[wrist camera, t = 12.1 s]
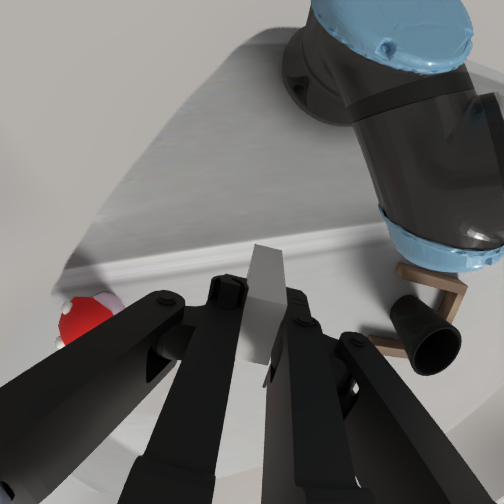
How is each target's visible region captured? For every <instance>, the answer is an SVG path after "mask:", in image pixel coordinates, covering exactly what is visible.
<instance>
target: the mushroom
mask: <svg viewBox="0 0 504 504" xmlns="http://www.w3.org/2000/svg"><path fill="white" fill-rule="evenodd" d="M61 309H62V314H61V318H60V321H59V325H58V326H59V331H60V335H61V336H58V337H57V338H56V341H55V343H56V346H57V348H58V349H61V348H63V347H64V346H66V345H67V344H69V343H70V342H72V341H74V340H75V339H77V338H78V337H80V336H82V335H83V334H85V333H86V332H88V331H90V330H91V329H93V328H94V327H96V326H98V325H99V324H101V323H102V322H104V321H106V320H107V319H109V318H110V317H112V316H114V315H115V314H117V313H119V312H120V311H122V310H123V309H125V306H124V304H123V303H122V301H121V300H120V299H119V298H118V297H116V296H115V295H113V294H111V293H108V292H101V293H99V294H97V295H95V296H93V297H74V298H73V299H72V300H71V301H70V302H65V303H64V304H63V305H62V308H61Z"/></svg>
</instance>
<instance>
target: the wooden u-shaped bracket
mask: <svg viewBox="0 0 504 504" xmlns="http://www.w3.org/2000/svg"><path fill="white" fill-rule="evenodd" d="M395 272H396V273H397V274H398V275H399V276H400V277H401V278H402V279H404V280H408V281H412V282H415V283H419V284H423V285H427V286H431V287H435V288H439V289H443V290H447V293H446V295H445V297H444V300H443V302H442V304H441V306H440V309H439V311H438V314H439V315H440V316H441V317H443V318H444V319H445V320H446V321H448V322H449V323H450V324H451V323H452V321H453V319H454V317H455V315H456V313H457V311H458V309H459V306H460V304H461V302H462V299H463V297H464V295H465V292H466V290H467V288H468V286H467V285H466V284H464V283H463V282H462V281H460V280H459V279H456V278H453V277H449V276H446V275H442V274H439V273H435V272H432V271H428V270H425V269H421V268H418V267H414V266H410V265H407V264H403V263H400V262H398V265H397V268H396V271H395ZM368 339H369V340H370V341H371V342H372V343H373V344H374V345H375V346H376V348H377V349H378V350H379V351H380V353H381V354H382V355H385V356H392V357H400V358H408V356H407V354H406V352H405V350H404V347H403V345H402V343H401V340H395V339H389V338H383V337H377V336H371V335H369V336H368Z"/></svg>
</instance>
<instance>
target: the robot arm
mask: <svg viewBox="0 0 504 504" xmlns="http://www.w3.org/2000/svg"><path fill="white" fill-rule="evenodd" d="M473 35H474V34H473V27H472V23H471V20H470V17H469V15H468V12H467V11H466V9H465V7H464V5H463V3H462V2H461V1H460V0H311V6H310V11H309V15H308V19H307V23H306V26H304V27H303V28H301V29H300V30H298V31H297V32H296V33H295V34H294V35H293V37H292V38H291V39H290V41H289V42H288V44H287V46H286V49H285V52H284V56H283V63H282V74H283V79H284V83H285V86H286V88H287V90H288V92H289V94H290V96H291V97H292V99H293V100H294V101H295V103H296V104H297V105H298V106H299V107H300V108H301V109H302V110H303V111H305V112H306V113H307V114H309V115H310V116H312V117H313V118H315V119H317V120H319V121H322V122H324V123H327V124H331V125H336V126H353V128H354V131H355V133H356V136H357V139H358V141H359V144H360V147H361V150H362V152H363V155H364V158H365V161H366V164H367V167H368V170H369V173H370V176H371V179H372V182H373V185H374V188H375V191H376V194H377V198H378V201H379V205H378V207H379V210H380V213H381V215H382V217H383V218H384V219H385V221H386V224H387V227H388V230H389V233H390V237H391V240H392V242H393V244H394V246H395V248H396V249H397V251H398V252H400V253H401V254H402V255H403V256H404V257H405V258H406V259H407V260H409V261H410V262H412V263H414V264H416V265H418V266H421V267H424V268H427V269H430V270H435V271H441V272H453V273H458V272H470V271H475V270H479V269H482V268H483V267H484V264H487V265H493V264H494V263H496V262H498V261H499V260H500V259H501V258H502V257H503V256H504V96H502V95H501V94H499V93H498V92H493V93H488V94H483V95H477V94H476V91H475V89H474V86H473V84H472V81H471V78H470V76H469V73H468V71H467V68H466V66H465V64H464V61H465V60H466V59H467V57H468V55H469V53H470V51H471V49H472V41H471V38H472V37H473ZM270 357H271V364H270V367H269V370H268V372H267V375H266V378H265V381H264V384H263V388H265V387H266V385H267V394H266V418H265V440H264V460H263V479H262V497H261V504H497V503H495V502H494V501H493V500H492V499H491V497H490V496H489V494H488V493H487V491H486V490H485V489H484V487H483V486H482V484H481V483H480V481H479V480H478V479H477V477H476V476H475V475H474V473H473V472H472V470H471V469H470V468H469V466H468V465H467V464H466V462H465V461H464V459H463V458H462V457H461V455H460V454H459V453H458V451H457V450H456V449H455V447H454V446H453V445H452V443H451V442H450V441H449V440H448V438H447V437H446V435H445V434H444V433H443V431H442V430H441V429H440V427H439V426H438V425H437V423H436V422H435V421H434V420H433V418H432V417H431V416H430V414H429V413H428V412H427V410H426V409H425V408H424V407H423V405H422V404H421V403H420V401H419V400H418V399H417V398H416V396H415V395H414V394H413V393H412V391H411V390H410V389H409V387H408V386H407V385H406V384H405V382H404V381H403V380H402V379H401V377H400V376H399V375H398V374H397V372H396V371H395V370H394V369H393V367H392V366H391V365H390V364H389V362H388V361H387V360H386V359H385V358H384V356H383V355H382V354H381V353H380V351H379V350H378V349H377V348H376V346H375V345H374V344H373V343H372V342H371V341H370V340H369V339H368V338H367V337H365V336H363V335H362V334H360V333H357V332H344V333H342V334H341V336H340V338H339V340H338V339H335V338H332V337H329V336H327V335H325V334H323V333H322V329H321V325H320V323H319V322H318V321H317V320H316V319H315V318H313V317H311V313H310V309H309V305H308V300H307V296H306V295H305V294H304V293H303V292H302V291H301V290H297V289H292V288H288V287H286V285H285V275H284V266H283V257H282V250H278V249H273V248H269V247H265V246H261V245H257V244H255V246H254V250H253V254H252V258H251V262H250V266H249V270H248V274H247V278H242V277H238V276H234V275H230V274H225V275H219V276H215V277H213V278H212V280H211V285H210V290H209V295H208V300H207V302H206V305H203V306H185V299H184V298H183V297H182V296H180V295H179V294H177V293H174V292H172V291H168V290H167V291H166V290H160V291H154V292H151V293H150V294H148V295H146V296H145V297H143V298H141V299H140V300H138V301H136V302H135V303H133V304H132V305H130V306H128V307H127V308H125V309H123V310H122V311H120V312H119V313H117V314H115V315H114V316H112V317H110V318H109V319H107V320H106V321H104V322H102V323H101V324H99V325H98V326H96V327H94V328H93V329H91V330H90V331H88V332H86V333H85V334H83V335H82V336H80V337H78V338H77V339H75V340H74V341H72V342H70V343H69V344H67V345H66V346H64V347H63V348H61V349H59V350H58V351H56V352H55V353H53V354H51V355H50V356H48V357H47V358H45V359H44V360H42V361H41V362H39V363H37V364H36V365H34V366H33V367H31V368H30V369H28V370H26V371H25V372H23V373H22V374H20V375H19V376H17V377H16V378H14V379H13V380H11V381H9V382H8V383H6V384H5V385H4V386H2V387H0V504H39V503H40V502H41V501H42V500H43V499H45V498H46V497H47V496H48V495H49V494H51V493H52V492H53V491H54V490H55V489H56V488H57V487H58V486H59V485H60V484H61V483H62V482H63V481H64V480H65V479H66V478H67V477H68V476H69V475H70V474H71V473H72V472H73V471H74V470H75V469H76V468H77V467H78V466H79V465H80V464H81V463H82V462H83V461H84V460H85V459H86V458H87V457H88V456H89V455H90V454H91V453H92V452H93V451H94V450H95V449H96V448H97V447H98V446H99V445H100V444H101V443H102V441H103V440H104V439H105V438H106V437H107V436H108V435H109V434H110V433H111V432H112V431H113V430H114V429H115V428H116V427H117V426H118V425H119V424H120V423H121V422H122V421H123V420H124V419H125V418H126V417H127V416H128V415H129V414H130V413H131V412H132V410H134V408H135V407H136V406H137V405H138V404H139V403H140V402H141V401H142V400H143V399H144V398H145V397H146V396H147V395H148V394H149V393H150V392H151V391H152V390H153V388H155V386H156V385H157V384H158V383H159V382H160V381H161V380H162V379H163V378H164V377H165V376H166V375H167V374H168V373H169V372H170V370H172V368H173V367H174V366H175V365H176V363H177V360H182V361H181V364H180V366H179V369H178V371H177V374H176V376H175V378H174V381H173V383H172V386H171V388H170V390H169V393H168V395H167V398H166V400H165V403H164V405H163V408H162V410H161V413H160V415H159V418H158V420H157V422H156V425H155V427H154V430H153V433H152V435H151V438H150V440H149V443H148V445H147V448H146V450H145V452H144V454H143V455H142V456H138V457H137V458H136V460H135V462H134V464H133V466H132V468H131V470H130V473H129V475H128V478H127V480H126V483H125V485H124V488H123V490H122V493H121V495H120V498H119V500H118V503H117V504H212V498H213V493H214V486H215V478H216V476H215V468H216V463H217V457H218V451H219V446H220V440H221V435H222V429H223V423H224V418H225V412H226V407H227V401H228V395H229V390H230V384H231V378H232V373H233V367H234V361H235V358H236V359H240V360H245V361H249V362H254V363H259V364H263V365H268V363H269V360H270ZM356 383H357V384H358V387H359V390H358V392H357V393H356V394H355V393H354V391H353V387H354V386H355V384H356ZM355 476H356V478H357V480H358V482H359V484H360V486H361V488H360V487H359V486H358V485H357V482H356V479H355Z"/></svg>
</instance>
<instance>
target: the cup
mask: <svg viewBox="0 0 504 504" xmlns="http://www.w3.org/2000/svg"><path fill="white" fill-rule="evenodd" d="M390 318H391V321H392V323H393V325H394V327H395V329H396V332H397V334H398V336H399V338H400V340H401V343H402V345H403V347H404V350H405V352H406V354H407V356H408V359H409V361H410V364H411V366H412V368H413V370H414V371H415V372H416V373H417V374H419V375H422V376H430V375H434V374H437V373H439V372H441V371H443V370H444V369H446V368H447V367H448V366H449V365H450V364H451V363H452V362H453V361H454V359H455V358H456V356H457V355H458V353H459V350H460V348H461V342H462V341H461V335H460V332H459V331H458V330H457V329H456V328H455V327H454V326H453V325H451V324H450V323H449V322H448V321H446V320H445V319H444V318H443V317H441V316H440V315H439V314H438V313H436V312H435V311H434V310H433V309H431V308H430V307H429V306H427V305H426V304H425V303H423V302H422V301H421V300H420V299H418V298H417V297H415V296H413V295H406V296H403V297H401V298H399V299H398V300H397V301H396V302H395V303H394V305H393V306H392V308H391V312H390Z"/></svg>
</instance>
